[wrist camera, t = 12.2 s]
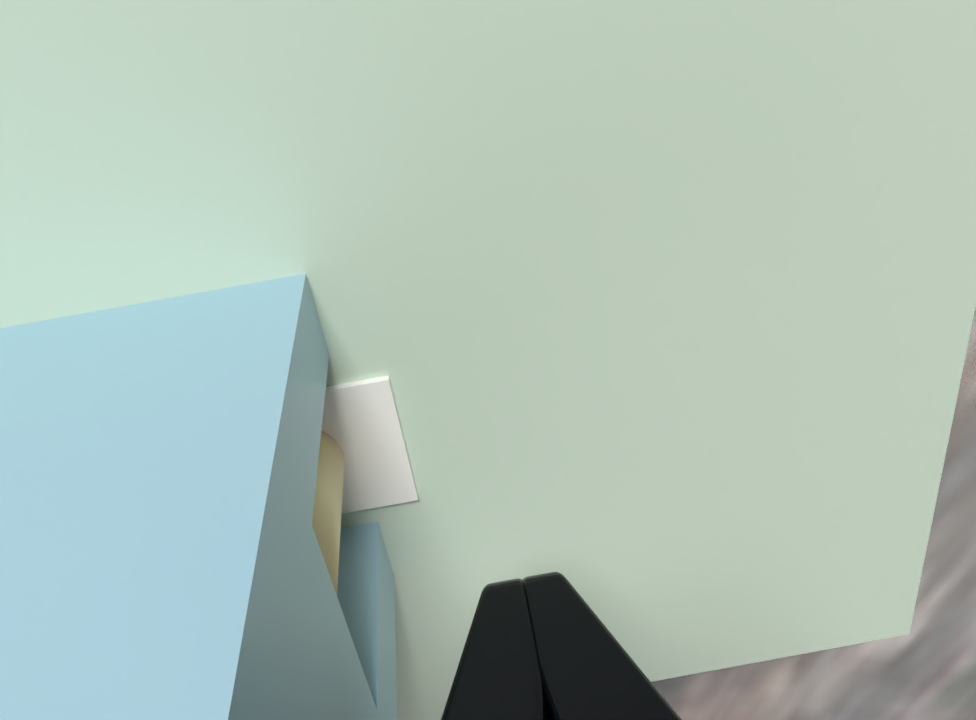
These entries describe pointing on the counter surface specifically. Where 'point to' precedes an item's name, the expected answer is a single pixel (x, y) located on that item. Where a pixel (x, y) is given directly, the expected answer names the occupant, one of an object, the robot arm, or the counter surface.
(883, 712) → the counter surface
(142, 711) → the blue notched block
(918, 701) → the counter surface
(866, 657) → the counter surface
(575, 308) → the pale green flat slab
